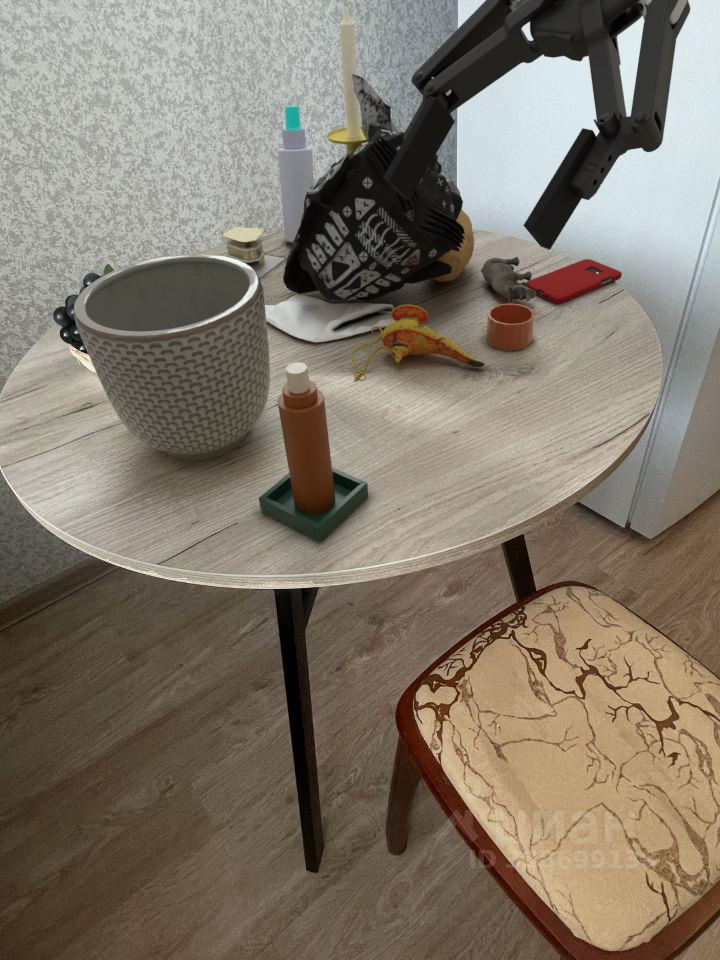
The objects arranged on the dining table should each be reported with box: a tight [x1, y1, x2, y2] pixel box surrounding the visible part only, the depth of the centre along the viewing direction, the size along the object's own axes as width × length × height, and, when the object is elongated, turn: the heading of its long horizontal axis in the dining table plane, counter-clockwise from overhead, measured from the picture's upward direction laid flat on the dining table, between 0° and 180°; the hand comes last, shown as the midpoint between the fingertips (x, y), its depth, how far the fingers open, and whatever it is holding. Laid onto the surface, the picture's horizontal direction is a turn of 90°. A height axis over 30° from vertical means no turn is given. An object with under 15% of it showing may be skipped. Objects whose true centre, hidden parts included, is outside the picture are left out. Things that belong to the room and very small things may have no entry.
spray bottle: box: [277, 105, 315, 244], centre depth 124 cm, size 6×6×22 cm
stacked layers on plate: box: [222, 226, 286, 279], centre depth 122 cm, size 10×9×6 cm
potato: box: [431, 209, 475, 283], centre depth 112 cm, size 9×16×9 cm, turn 158°
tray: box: [258, 466, 369, 544], centre depth 74 cm, size 8×8×2 cm
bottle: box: [277, 361, 335, 514], centre depth 69 cm, size 4×4×16 cm
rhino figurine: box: [480, 256, 537, 304], centre depth 108 cm, size 4×14×6 cm
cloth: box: [265, 293, 395, 343], centre depth 105 cm, size 26×14×2 cm, turn 66°
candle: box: [326, 2, 368, 155], centre depth 110 cm, size 10×10×38 cm
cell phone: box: [524, 258, 623, 305], centre depth 110 cm, size 8×15×1 cm, turn 124°
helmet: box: [282, 74, 465, 302], centre depth 103 cm, size 26×26×30 cm
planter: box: [73, 253, 271, 462], centre depth 79 cm, size 20×20×19 cm
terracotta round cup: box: [486, 302, 535, 352], centre depth 97 cm, size 6×6×4 cm
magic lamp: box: [350, 304, 486, 383], centre depth 93 cm, size 7×18×11 cm
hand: (459, 212), depth 48 cm, fingers open, 13 cm apart
